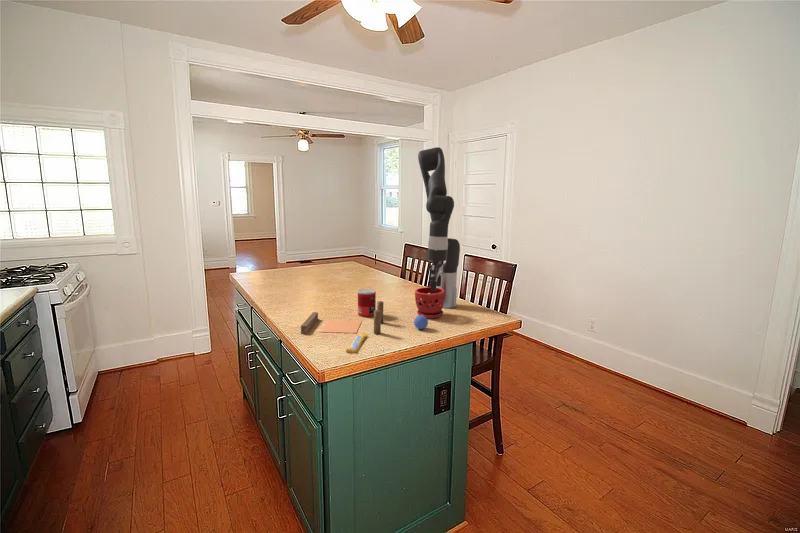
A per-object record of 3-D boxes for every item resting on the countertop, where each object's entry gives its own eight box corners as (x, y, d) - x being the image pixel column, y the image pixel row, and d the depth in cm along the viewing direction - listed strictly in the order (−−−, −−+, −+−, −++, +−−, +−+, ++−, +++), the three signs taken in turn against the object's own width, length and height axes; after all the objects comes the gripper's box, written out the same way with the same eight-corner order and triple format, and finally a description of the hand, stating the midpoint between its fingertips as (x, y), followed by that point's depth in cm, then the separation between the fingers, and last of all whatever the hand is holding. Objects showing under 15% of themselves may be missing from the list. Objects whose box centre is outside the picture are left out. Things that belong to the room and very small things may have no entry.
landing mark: (361, 321, 159) (361, 321, 159) (356, 333, 146) (356, 332, 145) (328, 320, 160) (328, 320, 160) (320, 332, 146) (320, 331, 146)
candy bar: (357, 355, 126) (357, 350, 126) (344, 354, 127) (344, 349, 126) (368, 337, 143) (368, 333, 142) (357, 337, 143) (357, 332, 143)
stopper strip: (318, 319, 162) (317, 312, 161) (306, 333, 144) (306, 326, 144) (313, 318, 162) (313, 312, 161) (301, 333, 144) (300, 326, 144)
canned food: (373, 318, 165) (373, 293, 163) (355, 316, 166) (355, 292, 164) (377, 313, 172) (377, 289, 170) (360, 311, 174) (360, 288, 172)
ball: (427, 326, 154) (428, 313, 153) (428, 331, 149) (428, 317, 148) (413, 326, 154) (414, 313, 153) (413, 331, 149) (414, 317, 148)
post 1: (383, 321, 160) (383, 301, 158) (382, 323, 157) (383, 302, 155) (377, 321, 160) (377, 301, 158) (376, 323, 157) (376, 302, 156)
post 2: (380, 332, 147) (381, 309, 146) (380, 334, 145) (380, 311, 143) (374, 331, 147) (374, 309, 146) (373, 334, 145) (373, 311, 143)
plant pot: (427, 309, 178) (428, 285, 176) (449, 316, 169) (450, 290, 167) (408, 315, 169) (408, 289, 167) (430, 322, 160) (431, 294, 158)
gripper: (432, 245, 154) (430, 284, 157) (423, 249, 141) (421, 291, 144) (450, 246, 152) (448, 285, 155) (443, 250, 139) (441, 293, 141)
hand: (435, 288), depth 149 cm, fingers open, 8 cm apart
